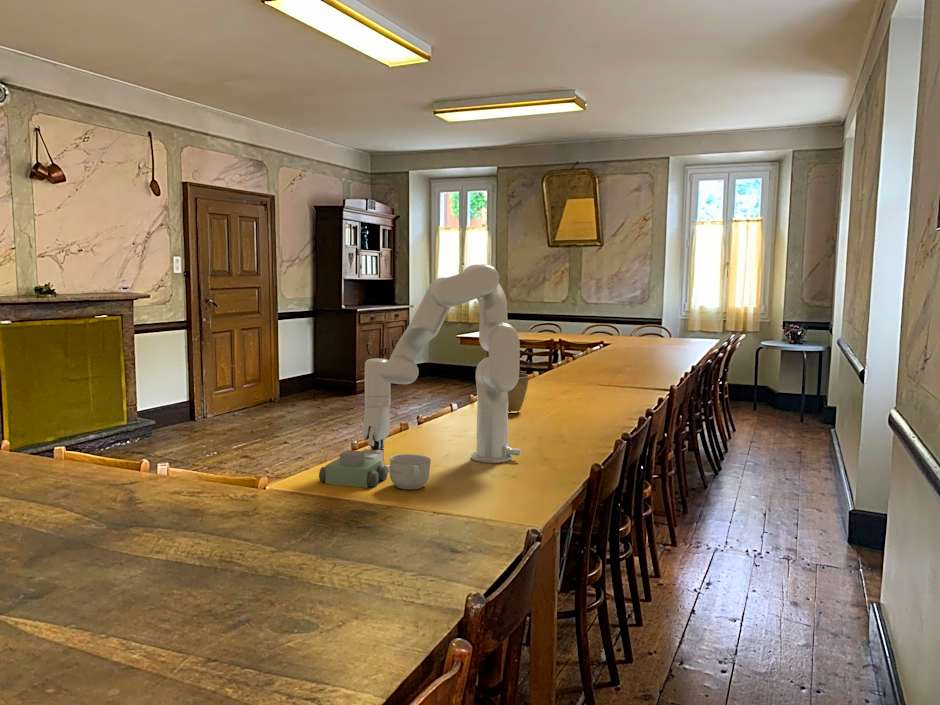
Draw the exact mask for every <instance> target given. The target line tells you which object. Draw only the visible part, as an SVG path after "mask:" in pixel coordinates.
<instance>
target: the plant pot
mask: <svg viewBox="0 0 940 705" xmlns="http://www.w3.org/2000/svg"><path fill="white" fill-rule="evenodd" d="M529 377H530V375H529V374H527V373H522V372H521V373H520V372H519V379H518V382H517V384H516V386H515V387H514V388H513V389H512V390H510V391H507V393H508V411H509V412H511V411H519V410H520V411H521V410H522V407H523V403H524V401H525V398H526V393H527V389H528V384H529V379H530V378H529Z"/></svg>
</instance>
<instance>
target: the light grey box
mask: <svg viewBox="0 0 940 705" xmlns="http://www.w3.org/2000/svg"><path fill="white" fill-rule="evenodd" d="M362 451H365V459H373V460H381V465H384V461H383V450H372V449H371V448H365V449H363V450H362Z"/></svg>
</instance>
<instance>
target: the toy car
mask: <svg viewBox="0 0 940 705" xmlns="http://www.w3.org/2000/svg"><path fill="white" fill-rule="evenodd" d="M388 472H390V464H386V465H384V464H383V465H381V460H373V459H365V451H363V450H350V449H347V450H345V451H343V452H342V453H340V454H339V458H337V459H335V460H333V461H331V462H329V463H327V464H326V465H325V466H322V467H321V468H320V469H319V473H318V479H319V481H320V482H322V483H325V485H334V486H335V485H336V486H346V487H354V488H355V487H356V488H357V487H358V488H364V489H365V488H369V487H374V488H376V487H377V486H378V484H379V481H386V480H387V478H388V474H389V473H388Z"/></svg>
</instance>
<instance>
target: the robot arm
mask: <svg viewBox="0 0 940 705" xmlns="http://www.w3.org/2000/svg"><path fill="white" fill-rule="evenodd" d="M499 275H500V274H499V272H498V271H497V269H496V268H495V267H494V266H492V265H489V264H484V263H483V264H472V265H469V266H467V267H466V268H464V270H463V271H462V272H460V273H458V274H454V275H451V276H448V277H438V278H436V279H434V280H433V281H432V282H430V283H429V286H428V287H427V290H426V291H425V293H424V295H423V298H422V300H421V302H420V304H419V306H418V308H417V309H416V311H415V314H414V315H413V318H412V320H410V323H409V325H408V326H407V327H406V329H405V331H404V332H403V333H402V335H401V336H400V338H399V339H398V341H397V343H396V345H395V347H394V349H393V351H392V352H391V354H390V358H389V359H386V358H379V357H378V358H369V359H367V360H366V361H365V363H364V407H365V408H364V411H363V412H364V414H363V420H362V422H363V424H362V440H363V441H368V444H367V445H368V446H369V447H370V449H372V450H383V462H384V461H385V460H384V459H385V458H384V455H385V454H384V449H385V441H386V440H387V437H388V436H389V435H390V432H391V421H390V420H391V415H390V407H391V404H392V403H391V397H392V395H391V393H392V391H391V389H392V388H391V387H392V386H391V384H397V385H410V384H412V383H414V382H415V381H416V380H417V379H418V376H419V375H420V374H419V370H420V369H419V367H418V365H417V364H416V362H415V361H416V360H417V358H418V356H419V354H420V352H421V351H422V349H423V347H425V345H427V343H429V342H430V341H431V340H433V339H434V338H435V337H436V336H437V335H438V334H439V332H440V329H441V328H442V325H443V324H444V322H445V319H446V318H447V315H448V313H449V312H450V309H451V308H452V307H456V306H460V305H462V304H465V303H468V302H471V301H473V300H477V304H478V310H479V327H478V329H479V330H478V332H479V334H478V341H479V344H480V346H481V348H482V349H483V350H484V351H486V352H488V356H487V357H484V358H483V359H482V360H481V361H479V362H478V364H477V366H476V368H475V384H476V394H477V395H476V398H477V400H476V401H477V402H476V404H477V405H476V406H477V407H476V449H475V450H476V451H474V452H472V453H471V455H470V456H471V457H470V458H471V459H472V460H473V461H475V462H480V463H485V464H499V463H500V462H502V463H506V461H507V462H510V461H511V460H512V459H513V456H517V457H518V456H521V454H522V450H521V448H520V449H519V448H517V447H511V444H510V443H509V442H508V426H509V422H508V421H509V420H508V419H509V414H508V393H507V391H510V390H512V389H513V388H514V387H515V386H516V384H517V382H518V379H519V373H520V366H521V365H520V364H521V363H520V361H521V360H520V357H521V355H520V354H521V352H520V350H521V349H520V348H521V344H520V343H521V342H520V337H519V334H518V332H517V330H516V329H515V327H513V325H511V324H509V322H508V320H509V319H508V303H507V297H506V293H505V292H504V289H503V287H502V285H501V284H500V276H499ZM509 460H510V461H509Z"/></svg>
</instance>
